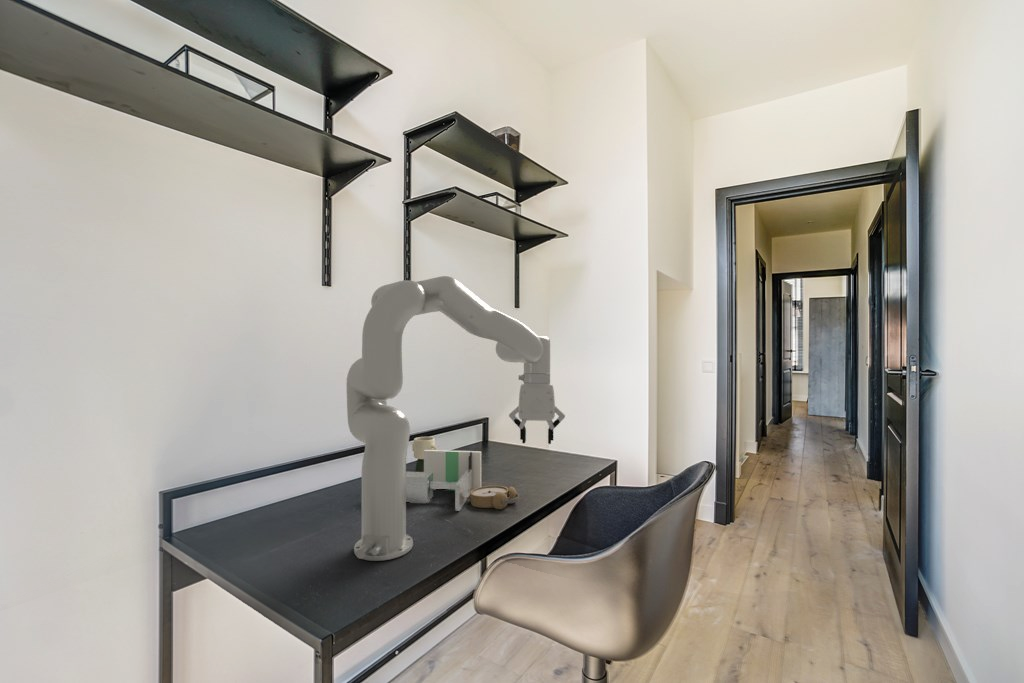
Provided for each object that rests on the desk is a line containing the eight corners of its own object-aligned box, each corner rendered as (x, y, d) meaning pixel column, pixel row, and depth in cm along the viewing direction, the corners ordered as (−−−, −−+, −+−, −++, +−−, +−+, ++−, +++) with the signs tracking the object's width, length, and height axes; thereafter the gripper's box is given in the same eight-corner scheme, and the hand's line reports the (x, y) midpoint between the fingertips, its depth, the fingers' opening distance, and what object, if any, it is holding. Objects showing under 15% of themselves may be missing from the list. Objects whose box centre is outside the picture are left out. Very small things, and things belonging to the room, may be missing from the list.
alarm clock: (483, 484, 141) (526, 483, 133) (486, 500, 140) (528, 500, 133) (461, 494, 131) (505, 493, 124) (463, 512, 131) (508, 512, 123)
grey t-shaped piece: (459, 510, 125) (459, 471, 125) (419, 509, 126) (419, 470, 126) (472, 490, 142) (472, 455, 142) (436, 489, 143) (437, 454, 143)
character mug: (443, 476, 158) (443, 438, 158) (428, 481, 152) (428, 442, 152) (420, 471, 164) (420, 435, 164) (405, 476, 158) (405, 438, 158)
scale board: (480, 491, 142) (480, 452, 142) (423, 489, 144) (423, 450, 144) (481, 490, 144) (481, 451, 144) (425, 487, 146) (425, 449, 146)
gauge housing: (427, 503, 132) (427, 477, 132) (383, 501, 133) (383, 476, 133) (433, 497, 137) (433, 472, 137) (390, 495, 139) (390, 470, 139)
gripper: (504, 380, 128) (504, 444, 128) (567, 381, 126) (567, 446, 126) (508, 378, 136) (508, 439, 136) (567, 378, 134) (567, 440, 134)
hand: (536, 442), depth 131 cm, fingers open, 6 cm apart
